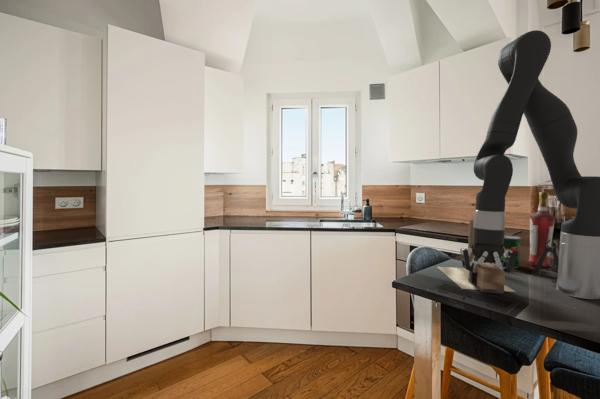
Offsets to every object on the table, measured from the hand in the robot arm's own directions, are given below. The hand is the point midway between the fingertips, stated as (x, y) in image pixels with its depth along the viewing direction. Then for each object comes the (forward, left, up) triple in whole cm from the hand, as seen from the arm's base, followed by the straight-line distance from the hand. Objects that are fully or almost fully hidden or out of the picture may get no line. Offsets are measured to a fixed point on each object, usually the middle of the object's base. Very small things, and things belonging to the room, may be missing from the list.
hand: (485, 285), depth 87 cm
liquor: (-34, -33, -2) cm, 47 cm away
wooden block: (-9, -26, -2) cm, 27 cm away
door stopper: (-30, -21, -2) cm, 37 cm away
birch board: (0, -9, -2) cm, 9 cm away
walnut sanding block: (0, 0, -1) cm, 1 cm away
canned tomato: (-22, -32, -2) cm, 39 cm away
